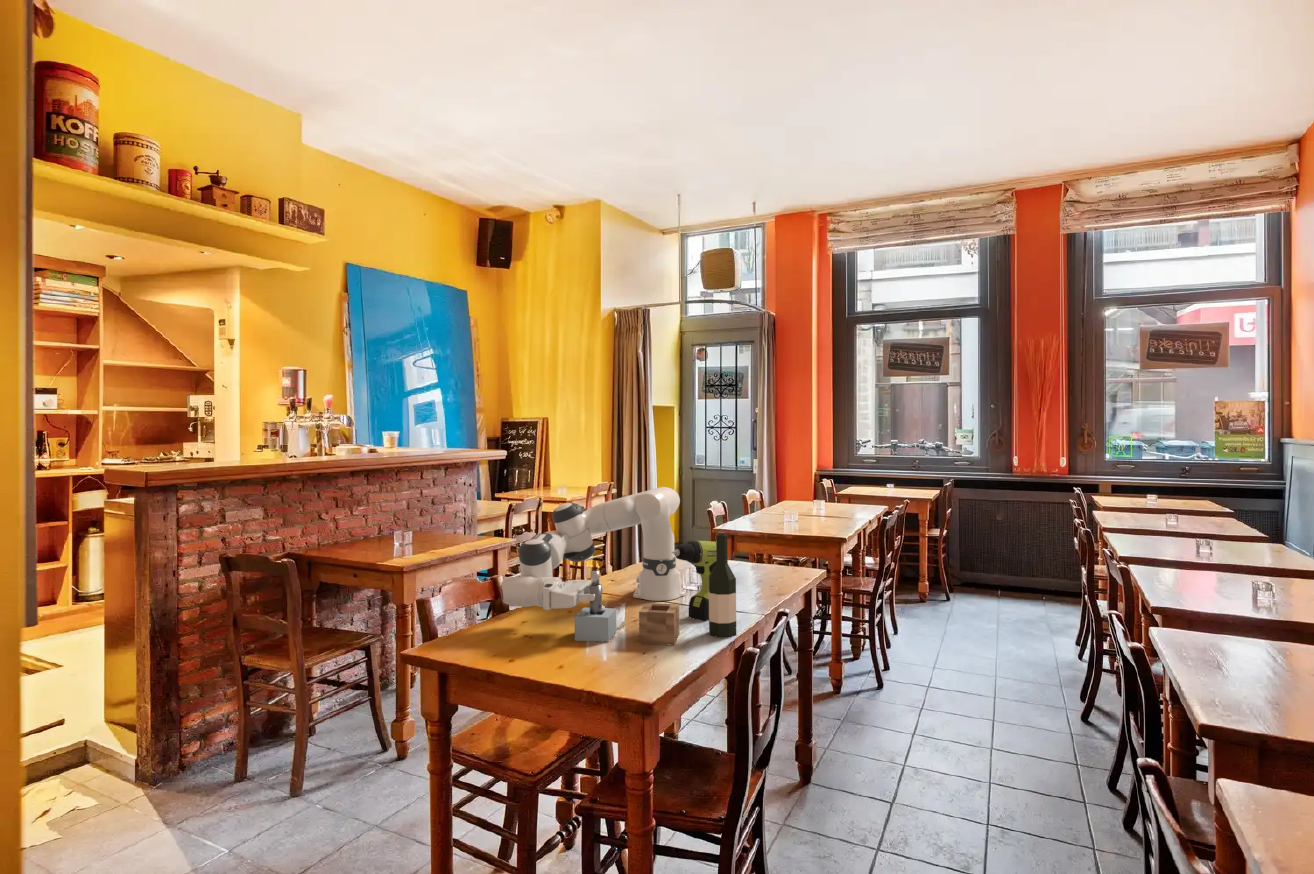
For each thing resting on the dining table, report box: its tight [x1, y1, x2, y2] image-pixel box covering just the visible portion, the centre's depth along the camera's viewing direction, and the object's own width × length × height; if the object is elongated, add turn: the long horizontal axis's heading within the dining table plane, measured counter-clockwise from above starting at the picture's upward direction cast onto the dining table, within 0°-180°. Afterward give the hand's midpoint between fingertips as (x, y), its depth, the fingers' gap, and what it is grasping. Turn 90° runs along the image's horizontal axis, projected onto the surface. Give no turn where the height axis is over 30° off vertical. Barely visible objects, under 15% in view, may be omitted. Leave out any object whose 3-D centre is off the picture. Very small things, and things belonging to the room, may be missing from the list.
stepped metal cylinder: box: [588, 570, 603, 615], centre depth 207 cm, size 4×4×16 cm
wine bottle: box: [708, 531, 737, 638], centre depth 208 cm, size 8×8×30 cm
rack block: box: [638, 602, 680, 646], centre depth 203 cm, size 10×10×9 cm
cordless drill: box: [672, 540, 716, 622], centre depth 224 cm, size 23×7×25 cm, turn 134°
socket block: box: [574, 606, 618, 643], centre depth 207 cm, size 10×10×7 cm
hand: (598, 593), depth 207 cm, fingers open, 7 cm apart
